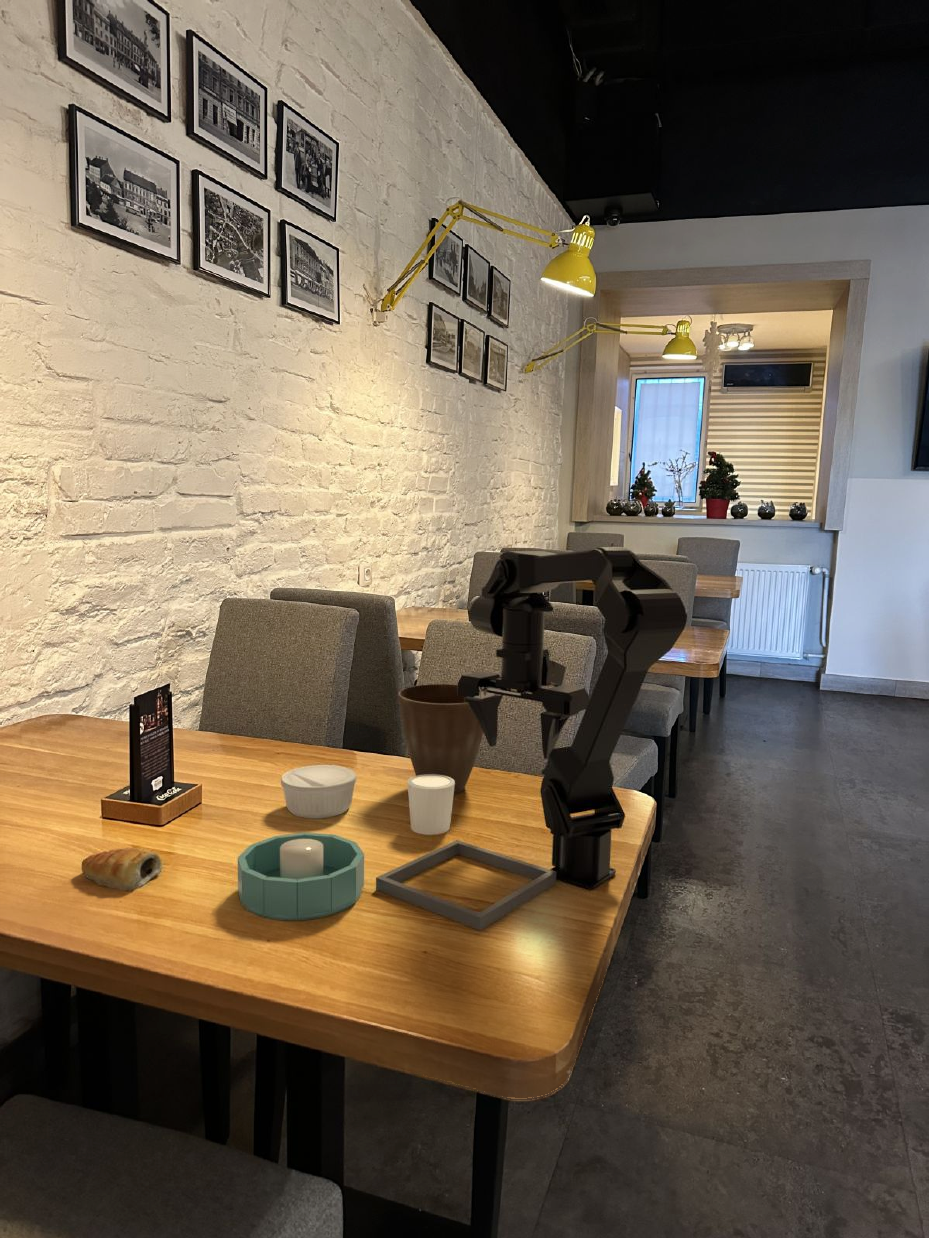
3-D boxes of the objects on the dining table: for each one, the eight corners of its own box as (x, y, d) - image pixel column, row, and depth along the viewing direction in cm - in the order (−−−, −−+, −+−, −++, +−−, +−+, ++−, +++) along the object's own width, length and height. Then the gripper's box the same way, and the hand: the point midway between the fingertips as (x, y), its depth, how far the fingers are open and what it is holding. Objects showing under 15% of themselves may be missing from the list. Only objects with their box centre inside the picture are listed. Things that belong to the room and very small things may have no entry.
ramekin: (268, 817, 124) (267, 782, 124) (300, 793, 135) (300, 761, 135) (339, 825, 122) (339, 790, 121) (366, 800, 133) (366, 768, 132)
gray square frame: (556, 883, 104) (556, 871, 104) (480, 930, 92) (480, 917, 91) (456, 850, 113) (456, 839, 113) (375, 889, 101) (376, 877, 101)
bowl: (386, 889, 101) (387, 853, 101) (295, 933, 90) (295, 893, 89) (306, 857, 110) (306, 824, 109) (214, 894, 99) (213, 857, 98)
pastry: (67, 883, 101) (66, 852, 101) (105, 862, 108) (104, 833, 107) (133, 894, 99) (133, 863, 98) (169, 872, 105) (168, 843, 105)
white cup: (397, 830, 120) (397, 782, 119) (421, 815, 126) (422, 770, 125) (439, 839, 117) (440, 791, 116) (462, 824, 123) (463, 778, 122)
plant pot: (497, 800, 134) (499, 701, 132) (403, 805, 131) (405, 704, 129) (476, 772, 148) (479, 683, 146) (392, 775, 145) (393, 684, 143)
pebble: (332, 886, 100) (332, 845, 100) (299, 900, 96) (299, 858, 96) (303, 874, 103) (303, 835, 103) (271, 888, 99) (271, 847, 99)
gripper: (611, 643, 117) (606, 752, 119) (501, 629, 128) (498, 730, 130) (569, 652, 108) (565, 770, 110) (455, 637, 119) (453, 744, 121)
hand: (519, 752), depth 118 cm, fingers open, 9 cm apart
